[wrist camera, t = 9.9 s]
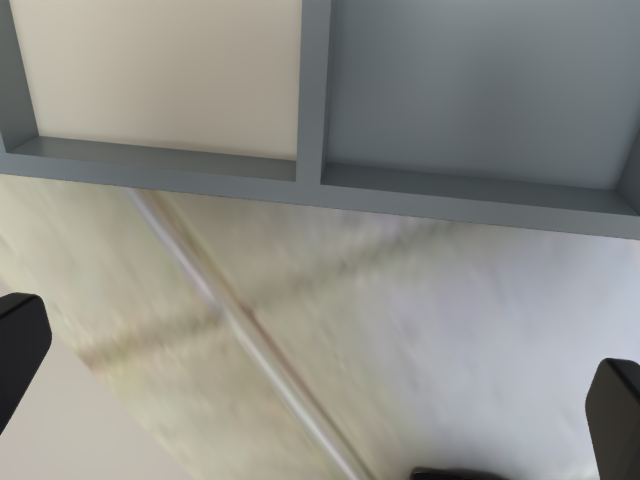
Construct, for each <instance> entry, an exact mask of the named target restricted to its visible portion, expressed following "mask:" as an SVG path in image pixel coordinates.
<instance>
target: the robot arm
mask: <svg viewBox="0 0 640 480" xmlns="http://www.w3.org/2000/svg"><path fill="white" fill-rule="evenodd" d="M51 341H52V332H51V328H50V324H49V320H48V317H47V313H46V309H45V305H44V302H43V300H42V299H41V297H40V296H38V295H36V294H28V293H18V292H16V293H11V294H8V295H5V296H3V297H0V435H1V433H2V432H3V430H4V429H5V427H6V425H7V424H8V422H9V420H10V419H11V417H12V415H13V413H14V412H15V410H16V408H17V406H18V404H19V403H20V401H21V399H22V397H23V395H24V393H25V392H26V390H27V388H28V386H29V385H30V383H31V381H32V379H33V377H34V375H35V373H36V372H37V370H38V368H39V366H40V365H41V363H42V361H43V359H44V357H45V355H46V354H47V352H48V350H49V348H50V345H51ZM585 411H586V417H587V421H588V426H589V430H590V435H591V439H592V444H593V449H594V453H595V458H596V462H597V467H598V471H599V476H600V480H640V365H639V364H638V363H636V362H634V361H631V360H624V359H615V358H606V359H603V360H602V361H601V362H600V364H599V366H598V368H597V371H596V373H595V376H594V378H593V381H592V384H591V386H590V389H589V391H588V394H587V397H586V402H585ZM410 480H469V479H462V478H455V477H448V476H441V475H434V474H427V473H415V474H413V475H412V476H411V477H410Z"/></svg>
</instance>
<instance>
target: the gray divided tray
mask: <svg viewBox="0 0 640 480" xmlns="http://www.w3.org/2000/svg"><path fill="white" fill-rule="evenodd" d="M0 174H8V175H17V176H27V177H36V178H46V179H56V180H65V181H75V182H85V183H94V184H104V185H114V186H123V187H133V188H142V189H152V190H162V191H171V192H181V193H191V194H200V195H210V196H219V197H229V198H239V199H248V200H258V201H268V202H277V203H287V204H297V205H306V206H316V207H325V208H335V209H345V210H354V211H364V212H374V213H383V214H393V215H402V216H412V217H422V218H431V219H441V220H451V221H460V222H470V223H480V224H489V225H499V226H508V227H518V228H528V229H537V230H547V231H557V232H566V233H576V234H585V235H595V236H605V237H614V238H624V239H634V240H640V0H0Z"/></svg>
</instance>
